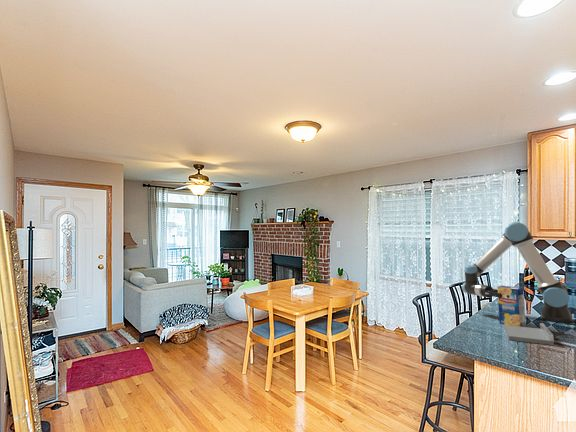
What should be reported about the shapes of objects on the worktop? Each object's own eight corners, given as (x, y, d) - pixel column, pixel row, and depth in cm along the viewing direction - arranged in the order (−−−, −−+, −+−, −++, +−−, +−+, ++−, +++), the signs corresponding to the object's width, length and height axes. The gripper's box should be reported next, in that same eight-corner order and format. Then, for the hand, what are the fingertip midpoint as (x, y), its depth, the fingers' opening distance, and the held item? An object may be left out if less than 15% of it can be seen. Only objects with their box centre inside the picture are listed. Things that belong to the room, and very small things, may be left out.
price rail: (540, 328, 173) (539, 323, 174) (543, 329, 173) (543, 323, 173) (549, 340, 154) (549, 334, 154) (553, 341, 154) (553, 334, 154)
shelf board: (504, 328, 181) (504, 324, 181) (543, 332, 173) (543, 329, 173) (508, 339, 162) (508, 335, 162) (553, 345, 153) (553, 341, 154)
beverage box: (520, 327, 182) (517, 289, 183) (499, 323, 191) (497, 286, 193) (525, 325, 186) (523, 287, 187) (504, 321, 195) (502, 285, 196)
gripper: (495, 295, 209) (530, 302, 187) (474, 297, 205) (508, 304, 182) (494, 284, 210) (529, 289, 187) (473, 286, 205) (507, 291, 183)
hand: (519, 297), depth 185 cm, fingers open, 4 cm apart
